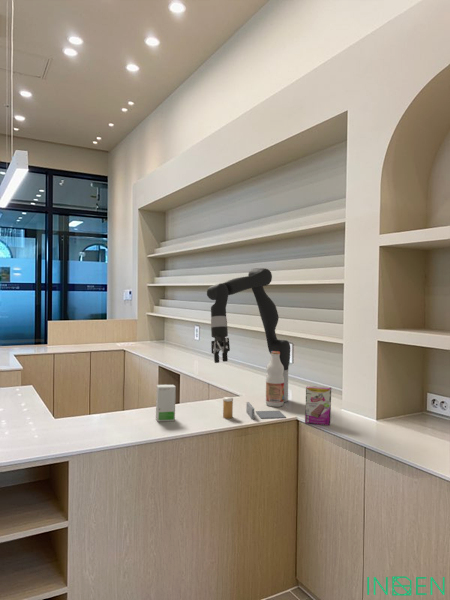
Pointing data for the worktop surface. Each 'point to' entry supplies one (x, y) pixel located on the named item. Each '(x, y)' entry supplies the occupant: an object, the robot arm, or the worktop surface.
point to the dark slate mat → (270, 414)
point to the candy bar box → (318, 405)
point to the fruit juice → (275, 381)
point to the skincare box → (165, 403)
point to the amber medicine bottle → (227, 407)
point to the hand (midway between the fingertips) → (220, 362)
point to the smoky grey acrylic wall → (250, 410)
